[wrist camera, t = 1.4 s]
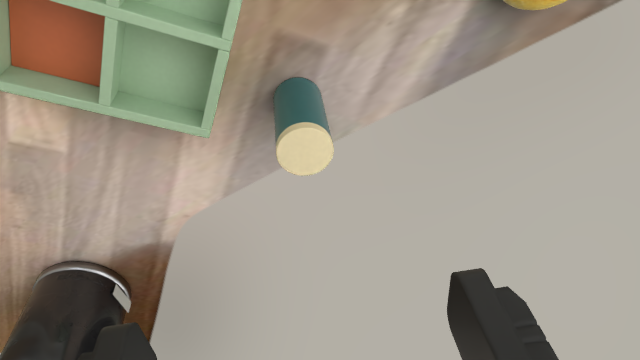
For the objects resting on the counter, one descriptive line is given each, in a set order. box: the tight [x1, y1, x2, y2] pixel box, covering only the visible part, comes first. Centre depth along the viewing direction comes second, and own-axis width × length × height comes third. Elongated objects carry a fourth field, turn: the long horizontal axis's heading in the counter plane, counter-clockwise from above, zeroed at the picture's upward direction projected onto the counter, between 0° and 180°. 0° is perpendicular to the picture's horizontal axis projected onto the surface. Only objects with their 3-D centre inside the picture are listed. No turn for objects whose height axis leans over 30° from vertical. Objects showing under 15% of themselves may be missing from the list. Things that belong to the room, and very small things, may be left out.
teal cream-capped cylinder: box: [273, 77, 334, 176], centre depth 34 cm, size 4×4×8 cm
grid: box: [0, 0, 242, 138], centre depth 30 cm, size 15×15×3 cm
